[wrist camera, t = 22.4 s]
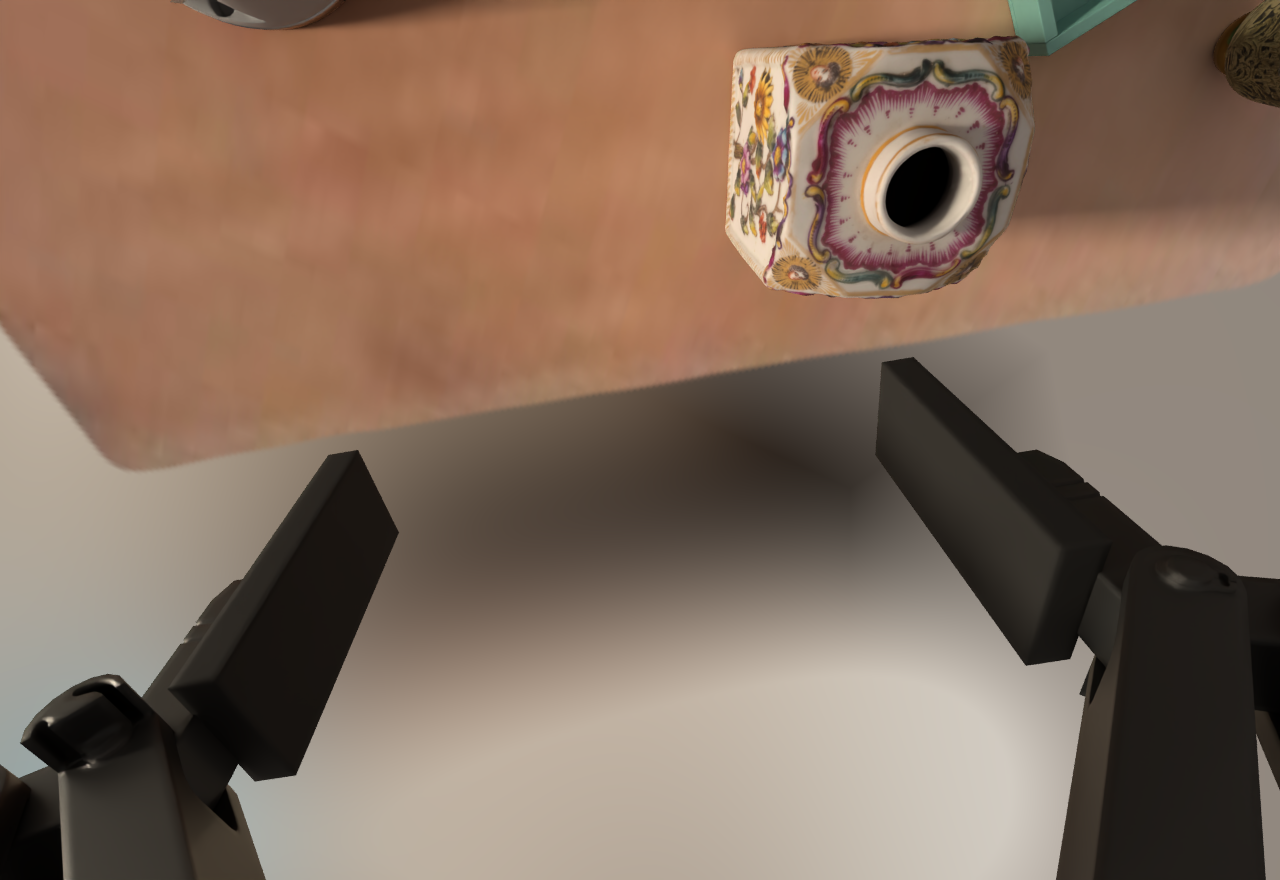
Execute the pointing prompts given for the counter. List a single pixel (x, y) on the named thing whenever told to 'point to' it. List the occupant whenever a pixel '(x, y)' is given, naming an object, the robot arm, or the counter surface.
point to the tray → (1059, 20)
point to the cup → (1253, 54)
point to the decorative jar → (876, 161)
